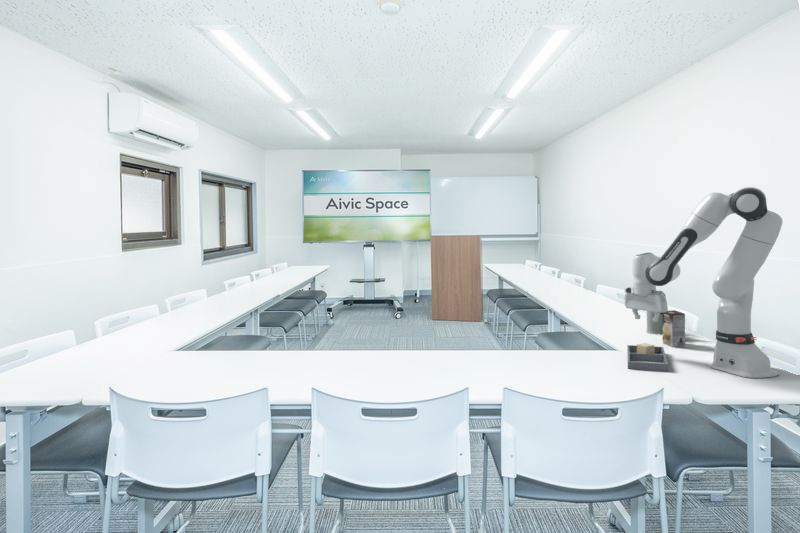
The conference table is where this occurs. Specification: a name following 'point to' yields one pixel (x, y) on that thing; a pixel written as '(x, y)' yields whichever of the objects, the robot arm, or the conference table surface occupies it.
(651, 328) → the grey mug
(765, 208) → the robot arm
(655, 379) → the conference table surface
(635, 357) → the divided bin
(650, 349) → the sandstone block
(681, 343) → the coffee box
